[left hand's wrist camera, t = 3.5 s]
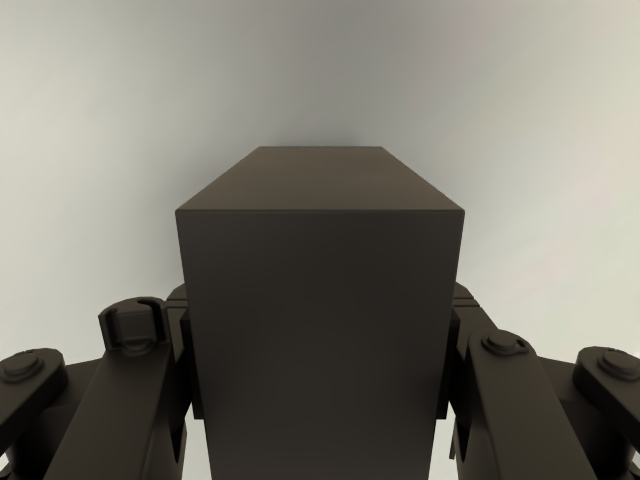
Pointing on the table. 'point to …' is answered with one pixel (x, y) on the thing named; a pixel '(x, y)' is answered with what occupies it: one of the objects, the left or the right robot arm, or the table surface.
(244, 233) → the bar
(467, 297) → the left robot arm
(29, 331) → the table surface
